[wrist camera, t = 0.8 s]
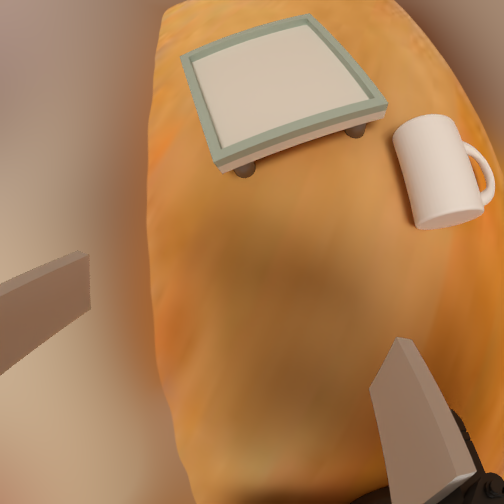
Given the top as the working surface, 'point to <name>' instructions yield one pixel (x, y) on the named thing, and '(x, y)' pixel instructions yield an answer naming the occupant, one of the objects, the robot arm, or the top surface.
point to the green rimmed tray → (277, 91)
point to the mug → (440, 172)
